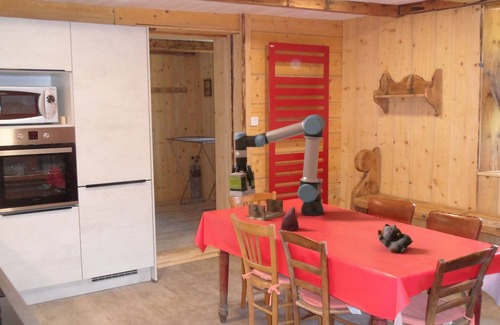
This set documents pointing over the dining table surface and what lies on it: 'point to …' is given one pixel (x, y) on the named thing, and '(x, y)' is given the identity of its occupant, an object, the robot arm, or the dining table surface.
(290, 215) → the vegetable
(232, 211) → the dining table surface
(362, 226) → the dining table surface
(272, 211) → the holder stand
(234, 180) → the tea box
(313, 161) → the robot arm
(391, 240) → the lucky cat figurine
